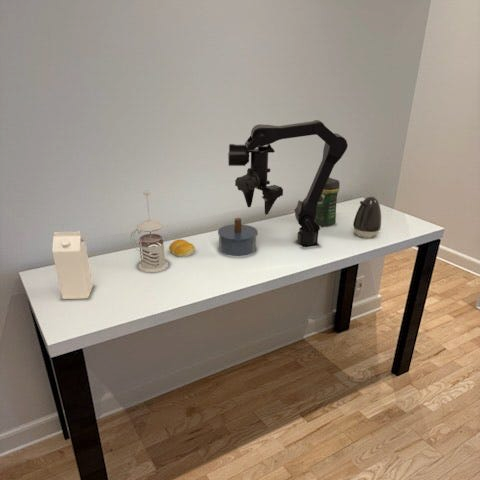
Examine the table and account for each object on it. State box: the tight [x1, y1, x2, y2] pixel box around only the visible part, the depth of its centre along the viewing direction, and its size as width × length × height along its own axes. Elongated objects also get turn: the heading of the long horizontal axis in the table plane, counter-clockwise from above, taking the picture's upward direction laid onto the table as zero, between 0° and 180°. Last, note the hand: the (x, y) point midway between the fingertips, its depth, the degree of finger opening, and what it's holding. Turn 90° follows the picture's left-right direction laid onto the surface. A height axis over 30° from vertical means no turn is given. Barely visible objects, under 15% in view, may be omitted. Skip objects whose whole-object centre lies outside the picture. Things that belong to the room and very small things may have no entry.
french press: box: [130, 190, 169, 273], centre depth 140 cm, size 10×12×25 cm
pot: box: [218, 235, 257, 257], centre depth 156 cm, size 13×13×6 cm
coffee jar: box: [315, 177, 341, 227], centre depth 177 cm, size 10×8×19 cm
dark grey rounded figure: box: [352, 196, 382, 239], centre depth 167 cm, size 10×10×15 cm
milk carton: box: [51, 231, 94, 300], centre depth 125 cm, size 7×7×19 cm
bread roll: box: [168, 238, 196, 258], centre depth 154 cm, size 8×9×4 cm
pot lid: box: [217, 217, 259, 241], centre depth 153 cm, size 14×14×6 cm
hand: (257, 210), depth 155 cm, fingers open, 9 cm apart
